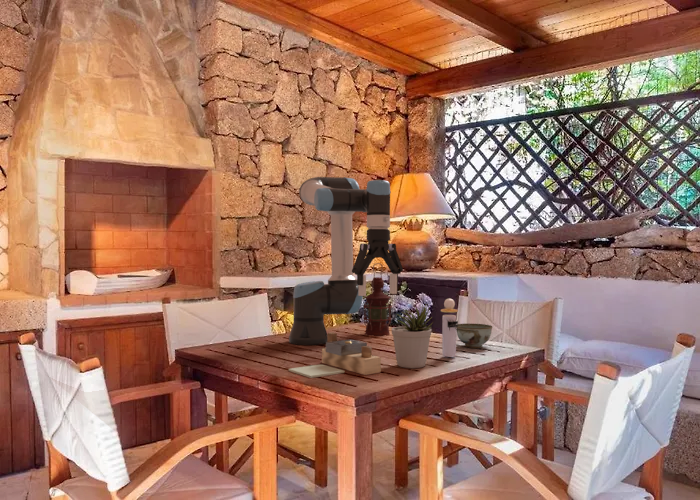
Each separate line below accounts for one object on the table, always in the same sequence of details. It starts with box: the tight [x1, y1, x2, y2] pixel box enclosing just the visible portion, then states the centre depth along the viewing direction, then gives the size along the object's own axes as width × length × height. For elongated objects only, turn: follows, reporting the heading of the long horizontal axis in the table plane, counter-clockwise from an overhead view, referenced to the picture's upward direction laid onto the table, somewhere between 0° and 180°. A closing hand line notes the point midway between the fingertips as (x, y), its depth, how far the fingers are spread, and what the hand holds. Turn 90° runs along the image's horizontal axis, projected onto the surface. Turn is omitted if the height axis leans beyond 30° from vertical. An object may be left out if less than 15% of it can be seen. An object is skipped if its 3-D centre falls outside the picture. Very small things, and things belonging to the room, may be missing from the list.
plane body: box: [321, 332, 382, 376], centre depth 188 cm, size 22×6×10 cm, turn 38°
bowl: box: [456, 323, 493, 349], centre depth 227 cm, size 14×13×8 cm
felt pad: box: [288, 363, 345, 379], centre depth 182 cm, size 12×12×1 cm
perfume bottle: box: [440, 297, 459, 357], centre depth 205 cm, size 6×6×20 cm
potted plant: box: [391, 303, 434, 369], centre depth 191 cm, size 13×14×20 cm
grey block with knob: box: [325, 338, 368, 356], centre depth 190 cm, size 8×10×3 cm
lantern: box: [362, 262, 393, 337], centre depth 257 cm, size 12×12×30 cm
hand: (378, 294), depth 195 cm, fingers open, 13 cm apart
